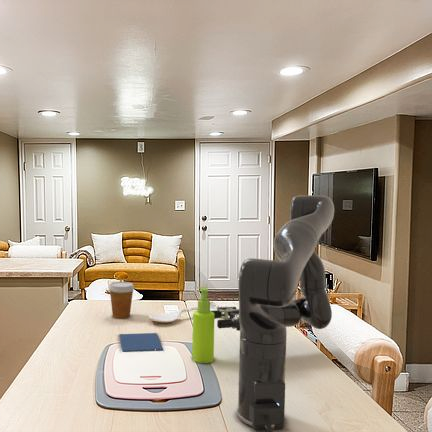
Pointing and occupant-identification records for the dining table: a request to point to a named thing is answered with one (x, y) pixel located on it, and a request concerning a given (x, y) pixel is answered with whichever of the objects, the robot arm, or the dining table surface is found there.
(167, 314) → the spoon
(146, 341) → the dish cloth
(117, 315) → the disposable coffee cup
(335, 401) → the dining table surface
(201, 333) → the soap dispenser
